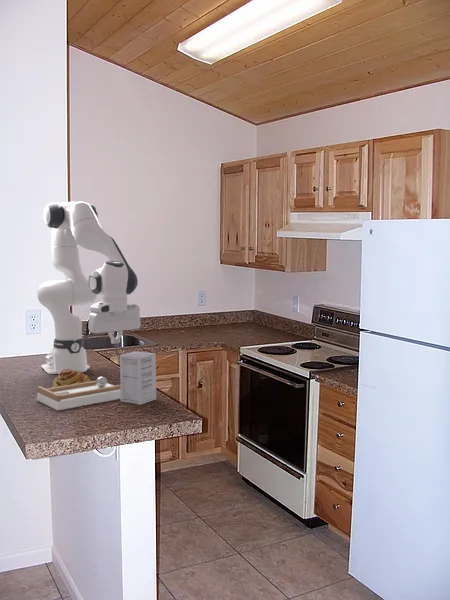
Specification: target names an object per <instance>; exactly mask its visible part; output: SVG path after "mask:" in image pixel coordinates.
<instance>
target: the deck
mask: <svg viewBox="0 0 450 600" xmlns="http://www.w3.org/2000/svg"><path fill="white" fill-rule="evenodd" d="M36 390H37V391H36V392H37V393H36V395H37V401H38V402H40V403H42V404H43V405H46V406H48V407H50V408H52V409H54V410H55V411H61V410H68V409H73V408H77V407H78V408H79V407H84V406H87V405H89V406H90V405H94V403H95V404H100V403H104V402H110V401H115V400H121V390H120V384H118V385H114V384H110V383H108V382H107V384H106V386H105V387H103V388H100V387H98V386H97V385H96V380H91V381H90V382H84V383H78V384H72V385H66V386H60V387H53V388H52V387H49V388H45V387H43V386H41V385H39V386H37V387H36ZM83 405H84V406H83Z"/></svg>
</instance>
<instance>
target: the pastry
mask: <svg viewBox="0 0 450 600" xmlns="http://www.w3.org/2000/svg"><path fill="white" fill-rule="evenodd" d="M90 381H92V380H91V379H90V377H89V375H87V374H84V372H80V371H76V370H70V369H64V370H62V371H61V373H60V374H57V377H55V379H54V380H53V381H52V385H51V386H52V387H51V388H53V387H60V386H66V385H72V384H78V383H84V382H90Z"/></svg>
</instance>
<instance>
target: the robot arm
mask: <svg viewBox="0 0 450 600" xmlns="http://www.w3.org/2000/svg"><path fill="white" fill-rule="evenodd" d="M98 214H99V213H98V210H97V207H96V206H95V205H94V204H92V203H88V202H85V201H67V202H66V201H65V202H56V201H55V202H50V203H47V204H46V206H44V208H43V220H44V224H45V225H46V226H47V227H48V228H51V229H52V230H51V259H52V265H53V267H54V269H56V270H57V271H59V272H61V273H63V275H64V276H65V279H63V280H61V279H59V280H50V281H45V282H43V283H41V284H40V285H39V287H38V289H37V293H36V294H37V299H38V301H39V303H40V304H41V305H42V306H43V307H45V308H46V309H47V310H48V311H49V313H50V314H51V316H52V318H53V323H54V330H55V331H54V334H55V335H54V336H55V338H54V339H53V348H52V349H50V351H49V352H48V353H46V354H47V355H46V356H45V358H44V360H45V362H46V363H45V364H41V367H42V368H43V369H44V372H46V373H47V374H49V375H59V374H60V373H61V371H62V370H64V369H70V370H76V371H80V372H82V373H84V372H87V371H88V370H89V369H90V368H91V367H90V366H91V365H88V359H87V350H86V349H85V348H84V343H85V342H84V337H83V322H82V319H81V318H80V317H79V316H78V315H76V314H74V313H71V310H70V307H72V306H73V307H74V306H84V305H88V304H91V303H94V302H95V300H96V299H97V297H98V296H102V300H101V301H98V302H96V303H94V304H92V305H90V306H89V307H90V308H89V309H90V310H89V311H91V312H90V313H89V316H88V331H89V332H90V333H91V334H101V333H102V334H103V333H107V335H108V337H109V339H110V343H111V344H113V345H114V344H119V343H121V338H122V336H123V334H124V331H128V330H129V331H130V330H138V329H140V328H141V326H142V323H141V315H140V313H141V311H140V306H138V305H137V304H135V303H133V304H128V296H129V295H131V294H132V293H134V292H135V290H136V288H137V287H138V277H137V274H136V272H135V271H134V270H133V269H132V268H131V266H130V265H129V263H128V262H127V260H126V258H125V256H124V255H123V253H122V251H121V249H120V247H119V245H118V244H117V242H116V241H115V239H114V238H113V237H111V235H110V234H108V233H107V232H106V231H105V230H104V228H102V226H101V225H100V224H101V223H99V222H100V221H99V219H98V218H99V217H98ZM80 247H81V248H83V249H86V250H89V251H92V252H93V251H94V252H96V253H100V254H102V255H104V256H106V257H107V258H108V261H105V262H104V263H103V265H102V267H100V268H98V269H96V270H95V269H94V270H93V271H92V272H91V273H90V274H89V276H87V275H86V273H85V272H84V271H83V267H82V264H81V259H80V249H79V248H80ZM115 332H116V333H117V335H116V336H115V337H114V335H115ZM41 367H40V368H41ZM42 368H41V369H42ZM43 369H42V370H43Z"/></svg>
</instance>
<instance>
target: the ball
mask: <svg viewBox="0 0 450 600" xmlns="http://www.w3.org/2000/svg"><path fill="white" fill-rule="evenodd" d="M95 381H96V385H97V386H98V387H100V388H103V387H105V386H106V384H107V383H108V379H107V378H106V377H105V376H98V377H97V379H96V380H95Z"/></svg>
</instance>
